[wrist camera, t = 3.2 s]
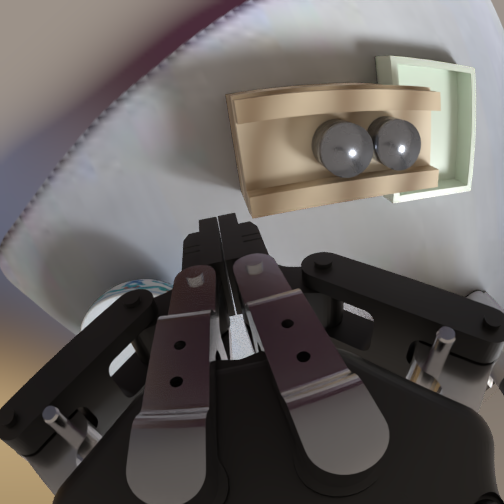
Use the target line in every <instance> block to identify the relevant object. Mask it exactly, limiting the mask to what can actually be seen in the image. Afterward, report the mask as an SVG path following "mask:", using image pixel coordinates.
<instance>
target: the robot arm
mask: <svg viewBox="0 0 504 504" xmlns="http://www.w3.org/2000/svg"><path fill="white" fill-rule="evenodd" d="M218 221H219V227H220V231H219V227H218V222H217V218H216V217H212V218H207V219H202V220H199V232H196V233H191V234H189V235H188V236H187V237H186V238H185V240H184V242H183V258H182V271H181V272H180V273H179V274H178V275H177V276H176V277H175V280H174V284H173V289H171V290H170V291H168V292H166V293H164V294H161V295H159V296H157V297H153V294H152V293H151V292H150V291H149V290H146V289H135V290H132V291H129V292H127V293H125V294H123V295H122V296H120V297H119V298H118V299H117V300H116V301H115V302H114V303H112V304H111V305H110V306H109V307H108V308H107V309H106V310H104V311H103V312H102V313H101V314H100V315H99V316H98V317H97V318H95V319H94V320H93V321H92V322H91V323H90V324H89V325H88V326H86V327H85V328H84V329H83V330H82V331H81V332H80V333H79V334H78V335H77V336H75V337H74V338H73V339H72V340H71V341H70V342H69V343H68V344H67V345H66V346H65V347H63V348H62V349H61V350H60V351H59V352H58V353H57V354H56V355H55V356H54V357H53V358H52V359H51V360H50V361H49V362H47V363H46V364H45V365H44V366H43V367H42V368H41V369H40V370H39V371H38V372H37V373H36V374H35V375H34V376H33V377H32V378H31V379H30V380H29V381H28V382H27V383H26V384H25V385H24V386H23V387H22V388H21V389H20V390H19V391H18V392H17V393H16V394H15V395H14V396H13V397H12V398H11V399H10V400H9V401H8V402H7V403H6V404H5V405H4V406H3V407H2V408H1V409H0V439H1V440H3V441H4V442H5V443H6V444H8V445H9V446H10V447H11V448H13V449H14V450H15V451H16V452H17V453H18V454H19V455H20V456H21V457H23V458H24V459H25V460H27V461H28V462H29V463H30V465H31V466H32V467H33V469H34V470H35V471H36V473H37V474H38V475H39V477H40V478H41V479H42V480H43V482H44V483H45V484H46V485H47V487H48V488H49V489H50V490H51V491H52V493H53V494H54V495H55V497H54V500H53V504H504V502H503V500H502V499H501V497H500V495H499V492H498V489H497V484H496V478H495V468H494V441H493V436H492V434H491V431H490V428H489V426H488V425H487V423H486V422H485V420H484V419H483V418H482V417H481V416H480V415H479V414H478V412H479V409H480V406H481V403H482V400H483V397H484V394H485V390H486V387H487V383H488V380H489V376H491V378H492V379H493V380H494V382H495V383H496V385H497V386H498V387H499V389H500V390H501V392H502V393H503V395H504V309H503V308H502V307H501V306H500V305H499V304H498V303H497V302H496V301H495V300H494V299H493V298H492V297H491V296H490V295H489V294H488V293H487V292H485V293H483V292H482V291H475V292H473V293H471V294H470V295H468V296H467V297H463V296H460V295H457V294H454V293H451V292H448V291H445V290H442V289H440V288H437V287H434V286H431V285H428V284H425V283H422V282H419V281H416V280H413V279H410V278H407V277H404V276H401V275H398V274H395V273H392V272H389V271H386V270H383V269H380V268H377V267H374V266H371V265H368V264H365V263H362V262H358V261H355V260H352V259H349V258H346V257H343V256H340V255H337V254H333V253H328V252H320V253H314V254H311V255H309V256H307V257H306V258H305V259H304V260H303V261H302V263H301V267H285V266H281V265H278V264H277V263H276V261H275V260H274V258H273V257H271V256H269V254H268V252H267V249H266V247H265V244H264V242H263V239H262V237H261V235H260V232H259V230H258V227H257V226H256V225H255V224H253V223H251V222H245V223H240V224H238V222H237V218H236V215H235V213H231V214H226V215H221V216H218ZM220 233H221V236H220ZM221 239H222V241H221ZM228 276H229V277H228ZM229 281H230V283H229ZM230 285H231V288H230ZM231 290H232V294H233V298H234V303H235V307H236V311H237V315H238V314H243V319H244V323H245V328H246V332H247V335H248V338H249V341H250V344H251V347H252V350H253V353H254V354H253V355H250V356H248V357H246V358H243V359H240V360H233V357H232V339H231V330H230V318H229V316H234V315H235V311H234V305H233V300H232V294H231ZM344 302H345V303H347V304H350V305H352V306H355V307H357V308H360V309H363V310H365V311H367V312H368V313H370V315H371V316H372V317H373V319H374V322H373V321H371V320H368V319H366V318H363V317H361V316H358V315H356V314H353V313H351V312H348V311H346V310H343V304H344ZM130 343H131V344H132V346H133V347H134V349H135V352H134V353H133V354H132V355H131V357H130V358H129V359H128V360H127V361H126V362H125V363H124V364H123V365H122V366H121V367H120V368H119V369H118V370H117V371H116V372H115V373H114V374H113V375H112V376H110V374H109V367H110V365H111V363H112V361H113V360H114V359H115V358H116V357H117V356H118V355H119V354H120V353H121V352H122V351H123V350H124V349H125V348H126V347H127V346H128V345H129V344H130Z"/></svg>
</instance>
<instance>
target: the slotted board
mask: <svg viewBox="0 0 504 504" xmlns="http://www.w3.org/2000/svg"><path fill="white" fill-rule="evenodd" d="M225 96H226V102H227V108H228V114H229V120H230V126H231V132H232V138H233V145H234V151H235V157H236V163H237V169H238V175H239V181H240V187H241V192H242V195H243V197H244V200H245V202H246V205H247V207H248V210H249V213H250V214H251V216H252V218H258V217H263V216H268V215H274V214H279V213H284V212H290V211H295V210H300V209H306V208H311V207H317V206H323V205H328V204H334V203H340V202H346V201H352V200H358V199H364V198H370V197H376V196H382V195H388V194H394V193H401V192H407V191H414V190H421V189H427V188H434V187H438V177H439V169H437V168H435V167H433V166H431V165H430V153H431V111H441V96H440V92H436V91H430V87H422V86H405V85H383V84H372V83H330V84H311V85H298V86H286V87H276V88H268V89H259V90H252V91H245V92H238V93H231V94H225ZM381 116H391V117H394V118H398V119H402V120H405V121H408V122H410V123H412V124H413V125H414V126H415V127H416V129H417V130H418V132H419V135H420V138H421V150H420V153H419V156H418V158H417V160H416V161H415V163H414V164H413V165H412V166H411V167H409V168H407V169H405V170H401V171H397V170H393V169H391V168H389V167H387V166H385V165H383V164H381V163H379V162H378V161H376V160H374V159H373V158H372V159H371V162H370V164H369V165H368V167H367V168H366V169H365V170H364V171H363V172H362V173H360V174H359V175H357V176H354V177H351V178H342V177H338V176H336V175H334V174H333V173H331V172H330V171H329V170H328V169H326V168H325V167H324V166H322V165H321V164H320V163H319V162H318V161H317V160H316V158H315V157H314V155H313V152H312V138H313V135H314V133H315V131H316V129H317V128H318V127H319V126H320V125H321V124H322V123H324V122H325V121H327V120H330V119H342V120H345V121H348V122H351V123H354V124H356V125H359V126H361V127H363V128H364V129H365V130H366V131H367V129H368V127H369V125H370V124H371V123H372V122H373V121H374V120H375V119H377V118H378V117H381Z"/></svg>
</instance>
